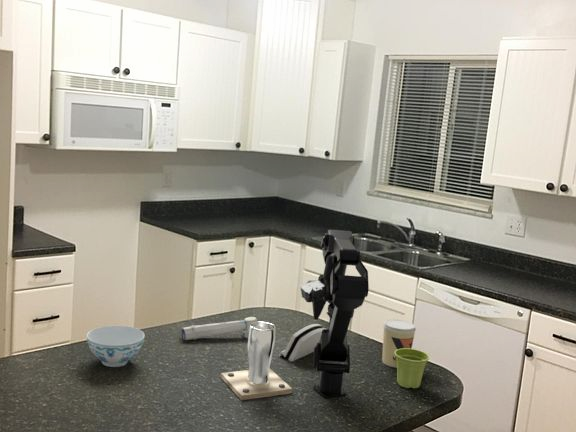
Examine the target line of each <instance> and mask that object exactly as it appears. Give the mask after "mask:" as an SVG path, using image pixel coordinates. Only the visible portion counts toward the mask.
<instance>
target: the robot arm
mask: <svg viewBox="0 0 576 432" xmlns="http://www.w3.org/2000/svg"><path fill="white" fill-rule="evenodd" d="M320 248H321V249H322V251H321V252H322V253H321V254H322V258H323V261H324V262H323V263H324V264H325V265H324V269H323V273H322V274H319V276H318V278H317V280H308V281H307V282H306V283H303V284H301V285H300V286H299V287H300V292H301V298H302V299H304V300H305V302H306V303H311V305H312V311H313V312H312V316H313V320H319V318H320V316H321V314H322V312H323V310H324V308H325V305H326V303H328V306H327V311H326V315H327V316H328V317H329V321H328V322H329V323H328V329H327V328H326V329H323V330H322V333H321V337H320V340H319V342H317V345H316V347H315V348H314V352H313V365H312V368H313V369H314V370H316V372H319V375H318V384H317V385H313V387H312V388H313V389H314V390H315V391H316V392H317V393H318V394H320V395H321V396H322V397H323V398H325V399H327V398H334V397H341V396H346V395H347V392H346V391H344V390H343V381H344V380H343V379H344V374H350V370H351V357H350V353H351V352H350V350H351V349H350V344H348V336H347V335H348V330H349V326H350V324H351V320H352V319H353V317H354V314H355V310H356V309H358V308H360V307H362V306H363V304H364V302H365V298H367V297H368V295H369V288H370V287H369V286H370V285H369V271H368V269H367V268H366V266H365V265H364V263H363V261H362V260H361V252H360V249H357V248H356V247H355V235H353V233H352V231H349V230H339V229H327V232H326V233H325V234H324V236H323V237H322V239H321V243H320ZM348 266H353V267H354V266H355V270H356V271H357V273H358V274H359V275H360V276H358V275H346V272H347V267H348ZM334 362H335V363H334ZM336 362H337V363H336Z"/></svg>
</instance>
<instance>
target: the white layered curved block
mask: <svg viewBox="0 0 576 432" xmlns="http://www.w3.org/2000/svg"><path fill="white" fill-rule="evenodd" d="M323 329H327V328H325V327H324V326H323V325H322V324H318V323H312V324H308V325H307V326H304V327H303V328H301V329H300V330H297V331H296V332H295V333H293V334H292V336H291V338H290V340H289V341H288V344H287V345H286V346H285V349H284V350H282V351H280V352H279V354H278V357H279V358H280V357H282V356H283V357H284V358H288V361H289V362H294V361H297V360H298V359H301V358H303V357H305V356H307V355H310V354H312V353H314V348H315V347H316V345H317V342H319V340H320V337H321V333H322V330H323Z"/></svg>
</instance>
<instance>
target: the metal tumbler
mask: <svg viewBox="0 0 576 432" xmlns="http://www.w3.org/2000/svg"><path fill="white" fill-rule="evenodd" d="M275 344H276V325H275V324H273V323H270V322H267V321H258V322H254V323H251V324H250V329H249V335H248V338H247V356H248V370H249V371H248V375H247V379H246V381H247V383H249V384H251V385H254V386H265V385H268V384H269V383H270V377H269V368H270V366H271V362H272V359H273V355H274V350H275V346H276V345H275Z"/></svg>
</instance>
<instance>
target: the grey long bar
mask: <svg viewBox="0 0 576 432" xmlns="http://www.w3.org/2000/svg"><path fill="white" fill-rule="evenodd" d="M254 322H259V321H258V319H257V317H255V316H248V317H245V318H244V319H242V320H233V321H224V322H216V323H214V322H213V323H206V324H198V325H194V324H191V326H185V327H181V328H180V335H181V336H180V337H181V340H182V341H191V340H194V341H196V340H198V339H203V338H207V337H213V336H218V335H223V334H230V333H235V332H239V331H240V332H242V333H241V335H242V336H243V338H244V339H245V338H246V339H248V335H249V329H250V324H251V323H254Z"/></svg>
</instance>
